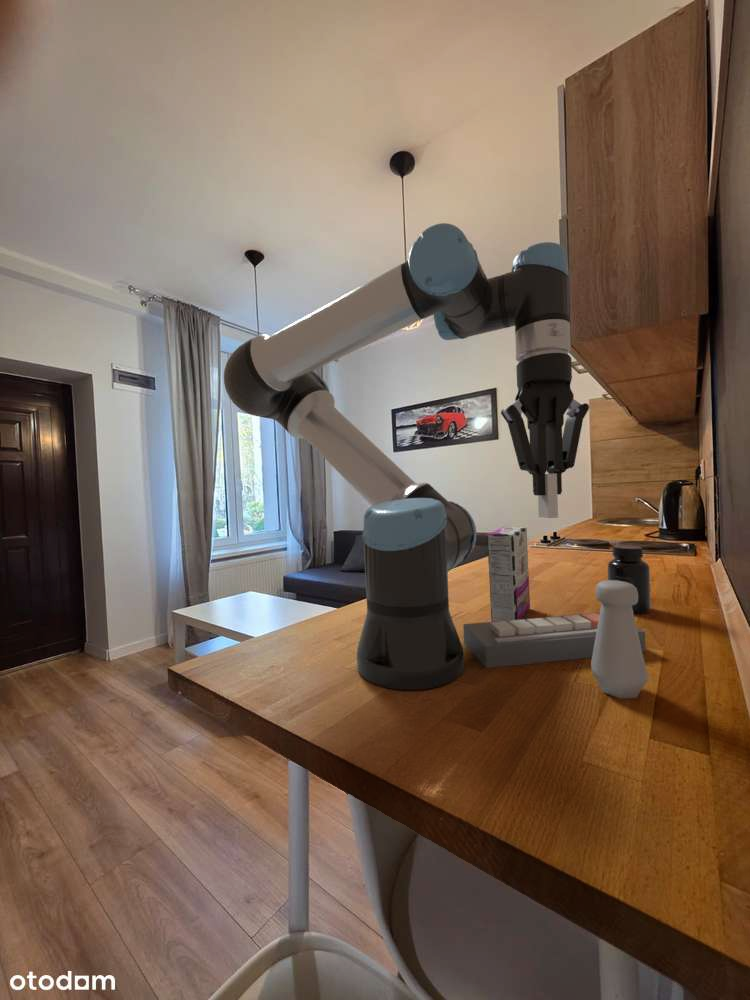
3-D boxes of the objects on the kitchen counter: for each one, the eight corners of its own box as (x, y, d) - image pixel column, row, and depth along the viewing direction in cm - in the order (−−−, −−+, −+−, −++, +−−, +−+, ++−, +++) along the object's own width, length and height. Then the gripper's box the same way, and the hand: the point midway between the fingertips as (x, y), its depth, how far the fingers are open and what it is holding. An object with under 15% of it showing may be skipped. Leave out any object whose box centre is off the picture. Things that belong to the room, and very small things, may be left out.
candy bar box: (505, 605, 81) (502, 526, 80) (530, 608, 78) (528, 526, 77) (489, 622, 71) (486, 532, 71) (517, 626, 69) (514, 533, 68)
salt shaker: (660, 702, 44) (658, 588, 43) (608, 704, 44) (606, 590, 44) (627, 677, 50) (625, 575, 49) (582, 678, 50) (579, 577, 49)
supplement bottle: (660, 612, 73) (658, 548, 72) (630, 616, 71) (628, 551, 71) (627, 601, 80) (626, 543, 79) (600, 605, 78) (598, 545, 78)
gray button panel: (486, 668, 54) (485, 639, 54) (464, 642, 63) (463, 618, 63) (645, 652, 57) (644, 624, 57) (602, 629, 66) (601, 606, 65)
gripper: (513, 350, 54) (519, 521, 54) (601, 349, 55) (605, 516, 56) (490, 367, 61) (496, 517, 62) (568, 366, 63) (573, 513, 63)
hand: (548, 517), depth 59 cm, fingers closed
